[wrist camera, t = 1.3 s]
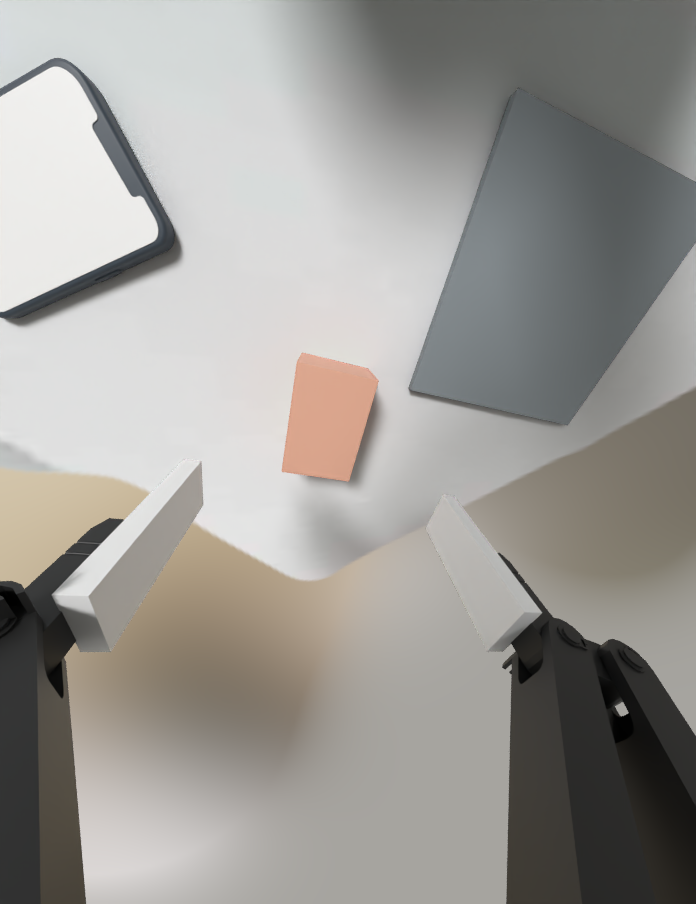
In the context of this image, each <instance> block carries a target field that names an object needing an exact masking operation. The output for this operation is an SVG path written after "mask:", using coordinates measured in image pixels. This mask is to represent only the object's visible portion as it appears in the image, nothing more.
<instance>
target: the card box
mask: <svg viewBox="0 0 696 904" xmlns="http://www.w3.org/2000/svg"><path fill="white" fill-rule="evenodd" d="M378 382H379V381H378V379H377V378H376V377H375V376H374V375H373V374H372V373H371V371H370V370H369V369H368V368H364V367H360V366H356V365H351V364H347V363H343V362H339V361H335V360H331V359H327V358H323V357H318V356H314V355H310V354H306V353H301V355H300V357H299V359H298V361H297V365H296V372H295V379H294V387H293V394H292V401H291V408H290V415H289V422H288V430H287V437H286V444H285V451H284V458H283V465H282V472H287V473H294V474H301V475H308V476H315V477H321V478H328V479H335V480H342V481H349V480H350V476H351V473H352V469H353V466H354V463H355V459H356V456H357V453H358V449H359V446H360V442H361V439H362V436H363V432H364V429H365V426H366V422H367V419H368V415H369V412H370V409H371V405H372V402H373V399H374V395H375V392H376V388H377V385H378Z"/></svg>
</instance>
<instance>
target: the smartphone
mask: <svg viewBox="0 0 696 904" xmlns="http://www.w3.org/2000/svg"><path fill="white" fill-rule="evenodd" d="M173 243H174V231H173V227H172V225H171V223H170V221H169V219H168V217H167V215H166V213H165V211H164V209H163V208H162V206H161V204H160V202H159V200H158V198H157V196H156V194H155V193H154V191H153V189H152V187H151V185H150V183H149V181H148V180H147V178H146V176H145V174H144V172H143V170H142V168H141V167H140V165H139V163H138V161H137V159H136V157H135V155H134V153H133V152H132V150H131V148H130V146H129V144H128V142H127V140H126V139H125V137H124V135H123V133H122V131H121V129H120V127H119V125H118V124H117V122H116V120H115V118H114V116H113V114H112V112H111V111H110V109H109V107H108V105H107V103H106V101H105V99H104V97H103V96H102V94H101V93H100V91H99V90H98V88H97V87H96V86H95V84H94V83H93V82H92V81H91V80H90V79H89V78H88V77H87V76H86V75H85V74H84V73H83V72H82V71H81V70H80V69H79V68H77V67H76V66H75V65H73V64H72V63H71V62H69V61H67V60H65V59H61V58H54V59H51V60H49V61H47V62H46V63H44V64H42V65H40V66H39V67H37V68H35V69H34V70H32V71H30V72H28V73H27V74H25V75H23V76H21V77H20V78H18V79H16V80H15V81H13V82H11V83H9V84H8V85H6V86H4V87H3V88H1V89H0V317H1V318H20V317H23V316H25V315H27V314H29V313H32V312H34V311H36V310H38V309H40V308H43V307H45V306H47V305H49V304H52V303H54V302H56V301H58V300H60V299H63V298H65V297H67V296H69V295H72V294H74V293H76V292H78V291H80V290H83V289H85V288H87V287H89V286H92V285H94V284H96V283H98V282H103V281H105V280H107V279H109V278H111V277H114V276H116V275H118V274H120V273H122V271H124V270H127V269H129V268H131V267H133V266H135V265H138V264H140V263H142V262H144V261H146V260H148V259H151V258H153V257H155V256H157V255H159V254H161V253H164V252H166V251H168V250H169V249H170V248H171V247H172V245H173Z"/></svg>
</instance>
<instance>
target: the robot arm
mask: <svg viewBox="0 0 696 904" xmlns="http://www.w3.org/2000/svg"><path fill="white" fill-rule="evenodd" d="M202 506H203V487H202V464H201V461H197V460H190V459H183V460H182V461H181V462H180V463H179V464H178V465H177V466H176V467H175V469H174V470H173V471H172V472H171V473H170V474H169V475H168V476H167V477H166V478H165V479H164V480H163V481H162V482H161V483H160V484H159V485H158V486H157V487H156V488H155V489H154V490H153V491H152V492H151V493H150V494H149V495H148V496H147V497H146V498H145V499H144V500H143V501H142V502H141V503H140V504H139V505H138V507H137V508H136V509H135V510H134V511H133V512H132V513H131V514H130V515H129V516H128V517H127V518H126V519H125V520H123V519H111V518H109V519H107V520H105V521H104V522H102V523H100V524H98V525H96V526H95V527H93V528H91V529H90V530H89V531H88V532H87V533H86V534H84V535H83V536H82V537H81V538H80V539H79V540H78V541H77V543H76V544H74V545H72V546H71V547H70V548H69V549H68V550H67V551H66V553H65V554H64V555H62V556H60V557H59V558H58V559H57V560H56V561H55V562H54V563H53V564H52V565H51V566H50V567H48V568H47V569H46V570H45V571H44V572H43V573H42V574H41V575H40V576H39V577H38V578H36V579H35V580H34V581H33V582H32V583H31V584H30V585H29V586H28V587H27V588H25V589H24V588H23V587H22V585H21V584H18V583H16V582H13V581H2V582H0V904H86V897H85V885H84V874H83V863H82V862H83V861H82V850H81V837H80V826H79V814H78V801H77V789H76V779H75V778H76V777H75V766H74V754H73V741H72V729H71V718H70V706H69V694H68V682H67V670H66V661H65V659H64V656H65V655H66V654H67V652H68V651H69V650H70V648H71V647H72V646H73V644H74V643H75V642H76V644H77V646H78V648H79V650H80V652H111V650H112V649H113V647H114V646H115V644H116V643H117V641H118V639H119V638H120V636H121V635H122V633H123V631H124V630H125V628H126V627H127V625H128V624H129V622H130V620H131V619H132V617H133V616H134V614H135V612H136V611H137V609H138V608H139V606H140V604H141V603H142V601H143V599H144V598H145V597H146V595H147V593H148V592H149V590H150V589H151V587H152V585H153V584H154V582H155V581H156V579H157V577H158V576H159V574H160V573H161V571H162V570H163V568H164V566H165V565H166V563H167V561H168V560H169V558H170V557H171V555H172V553H173V552H174V550H175V549H176V547H177V546H178V544H179V543H180V541H181V539H182V538H183V536H184V535H185V533H186V531H187V530H188V528H189V527H190V525H191V523H192V522H193V520H194V519H195V517H196V516H197V514H198V512H199V511H200V509H201V508H202ZM426 530H427V533H428V535H429V536H430V538H431V541H432V542H433V545H434V546H435V549H436V550H437V553H438V554H439V557H440V559H441V561H442V563H443V565H444V567H445V568H446V571H447V573H448V574H449V577H450V578H451V581H452V582H453V585H454V587H455V589H456V591H457V592H458V595H459V597H460V598H461V600H462V603H463V605H464V607H465V609H466V610H467V613H468V614H469V616H470V619H471V620H472V623H473V625H474V627H475V629H476V630H477V632H478V635H479V636H480V638H481V641H482V643H483V644H484V646H485V648H486V650H487V651H504V650H505V649H506V648H507V647H508V646H509V645H510V644H512V645H513V647H514V649H515V651H516V652H515V653H514V654H513V655H511V656H510V657H509V658H508V659H507V660H506V661H505V662H504V664H503V667H502V668H504V669H506V668H507V667H508V666H509V665H511V664H512V670H511V671H510V674H512V682H511V683H512V684H511V726H510V770H509V814H508V816H509V817H508V818H509V819H508V858H507V860H508V861H507V902H506V904H696V736H695V734H694V733H693V731H692V730H691V728H690V727H689V725H688V724H687V722H686V721H685V719H684V717H683V716H682V714H681V713H680V711H679V710H678V708H677V707H676V705H675V704H674V702H673V701H672V699H671V697H670V696H669V694H668V693H667V691H666V690H665V688H664V687H663V685H662V684H661V682H660V681H659V679H658V677H657V676H656V675H655V673H654V671H653V670H652V669H651V667H650V666H649V665H648V663H647V662H646V661H645V660H644V659H643V658H642V657H641V656H640V655H639V654H638V653H637V652H636V651H634V650H633V649H632V648H630V647H629V646H627V645H625V644H624V643H622V642H620V641H618V640H614V639H610V640H608V641H606V642H605V643H604V644H602V645H599V644H597V643H594V642H591V641H589V640H586V639H584V638H583V636H582V635H581V634H580V633H579V632H578V631H577V630H576V629H575V628H573V627H572V626H571V625H569V624H568V623H567V622H565V621H563V620H561V619H557V618H553V617H552V615H551V614H550V613H549V612H548V610H547V609H546V608H545V607H544V605H543V604H542V603H541V601H540V600H539V599H538V597H537V596H536V595H535V594H534V592H533V591H532V590H531V588H530V587H529V586H528V585H527V584H526V583H525V581H524V579H523V578H522V577H521V576H520V575H519V574H518V572H517V571H516V569H515V568H514V567H513V565H512V564H511V563H510V562H509V561H508V560H507V559H506V558H505V557H504V556H503V555H501V554H500V553H497V552H496V551H495V549H494V548H493V547H492V546H491V544H490V543H489V541H488V540H487V539H486V537H485V536H484V535H483V534H482V532H481V531H480V530H479V528H478V527H477V526H476V524H475V523H474V522H473V520H472V519H471V518H470V516H469V515H468V514H467V512H466V511H465V510H464V508H463V507H462V506H461V504H460V503H459V502H458V500H457V499H456V498H455V496H451V495H444V494H443V495H442V497H441V499H440V501H439V503H438V505H437V507H436V509H435V510H434V512H433V514H432V516H431V518H430V520H429V522H428V524H427V526H426ZM621 702H624V704H625V706H626V708H627V710H628V712H629V713H628V714H626V715H625V716H622V717H621V716H620V715H619V714H618V712H617V710H616V708H615V706H616V705H618V704H620V703H621Z"/></svg>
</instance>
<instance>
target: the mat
mask: <svg viewBox="0 0 696 904" xmlns="http://www.w3.org/2000/svg"><path fill="white" fill-rule="evenodd" d="M695 242H696V182H694V181H693V180H691V179H689V178H687V177H685V176H683V175H681V174H679V173H678V172H676V171H674V170H672V169H670V168H668V167H666V166H664V165H663V164H661V163H659V162H657V161H655V160H653V159H651V158H649V157H648V156H646V155H644V154H642V153H640V152H638V151H636V150H634V149H633V148H631V147H629V146H627V145H625V144H623V143H621V142H619V141H618V140H616V139H614V138H612V137H610V136H608V135H606V134H604V133H603V132H601V131H599V130H597V129H595V128H593V127H591V126H589V125H588V124H586V123H584V122H582V121H580V120H578V119H576V118H574V117H572V116H571V115H569V114H567V113H565V112H563V111H561V110H559V109H557V108H556V107H554V106H552V105H550V104H548V103H546V102H544V101H542V100H541V99H539V98H537V97H535V96H533V95H531V94H529V93H527V92H526V91H524V90H522V89H520V88H518V89H517V90H516V91H515V92H514V93H513V95H512V96H511V97H510V99H509V102H508V105H507V108H506V111H505V113H504V116H503V119H502V122H501V125H500V128H499V131H498V133H497V136H496V139H495V142H494V145H493V148H492V151H491V153H490V156H489V159H488V162H487V165H486V168H485V171H484V173H483V176H482V179H481V182H480V185H479V188H478V191H477V194H476V196H475V199H474V202H473V205H472V208H471V211H470V214H469V216H468V219H467V222H466V225H465V228H464V231H463V234H462V236H461V239H460V242H459V245H458V248H457V251H456V254H455V256H454V259H453V262H452V265H451V268H450V271H449V274H448V277H447V279H446V282H445V285H444V288H443V291H442V294H441V297H440V299H439V302H438V305H437V308H436V311H435V314H434V317H433V319H432V322H431V325H430V328H429V331H428V334H427V337H426V339H425V342H424V345H423V348H422V351H421V354H420V357H419V360H418V362H417V365H416V368H415V371H414V374H413V377H412V380H411V382H410V385H409V389H410V390H412V391H417V392H421V393H426V394H430V395H435V396H439V397H444V398H448V399H453V400H457V401H461V402H466V403H470V404H475V405H479V406H484V407H488V408H493V409H497V410H502V411H506V412H511V413H515V414H519V415H524V416H528V417H533V418H537V419H542V420H546V421H551V422H555V423H560V424H564V425H568V424H569V423H570V421H571V420H572V418H573V417H574V416H575V414H576V413H577V411H578V410H579V408H580V407H581V406H582V404H583V403H584V401H585V400H586V398H587V397H588V396H589V394H590V393H591V391H592V390H593V388H594V387H595V386H596V384H597V383H598V381H599V380H600V378H601V377H602V375H603V374H604V373H605V371H606V370H607V368H608V367H609V365H610V364H611V363H612V361H613V360H614V358H615V357H616V355H617V354H618V353H619V351H620V350H621V348H622V347H623V345H624V344H625V343H626V341H627V340H628V338H629V337H630V335H631V334H632V333H633V331H634V330H635V328H636V327H637V325H638V324H639V323H640V321H641V320H642V318H643V317H644V315H645V314H646V313H647V311H648V310H649V308H650V307H651V305H652V304H653V303H654V301H655V300H656V298H657V297H658V295H659V294H660V293H661V291H662V290H663V288H664V287H665V285H666V284H667V283H668V281H669V280H670V278H671V277H672V275H673V274H674V272H675V271H676V270H677V268H678V267H679V265H680V264H681V262H682V261H683V260H684V258H685V257H686V255H687V254H688V252H689V251H690V250H691V248H692V247H693V245H694V244H695Z"/></svg>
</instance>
